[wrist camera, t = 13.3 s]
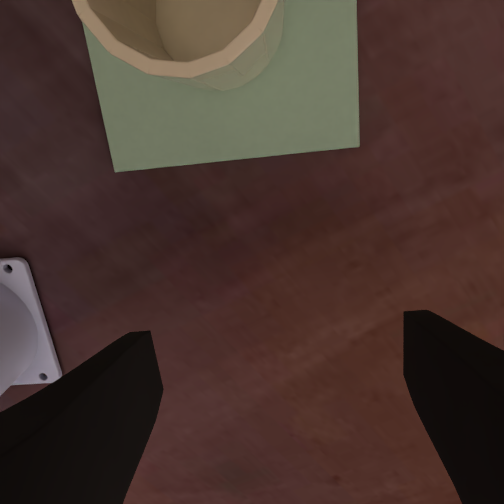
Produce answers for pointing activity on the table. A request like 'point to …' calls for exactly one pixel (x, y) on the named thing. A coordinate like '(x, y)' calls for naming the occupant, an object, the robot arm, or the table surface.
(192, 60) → the cup
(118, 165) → the mat
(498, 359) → the robot arm
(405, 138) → the table surface
